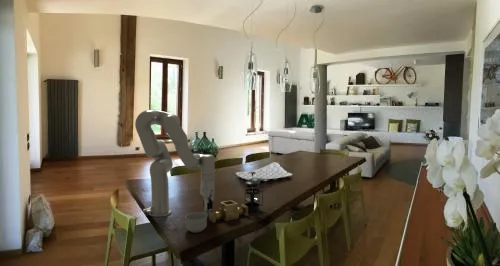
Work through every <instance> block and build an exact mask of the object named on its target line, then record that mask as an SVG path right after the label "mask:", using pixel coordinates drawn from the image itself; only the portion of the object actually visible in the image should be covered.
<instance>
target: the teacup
mask: <svg viewBox="0 0 500 266" xmlns="http://www.w3.org/2000/svg"><path fill="white" fill-rule="evenodd" d="M208 217H209V216H208V214H207V212H204V211H200V212H199V211H196V212H190V213H187V214H186V215H185V216H184V219H185V227H186V229H187V231H189V232H191V233H196V234H197V233H200V232H203V231H204V230H205V229H206V228H207V224H208Z"/></svg>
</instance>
